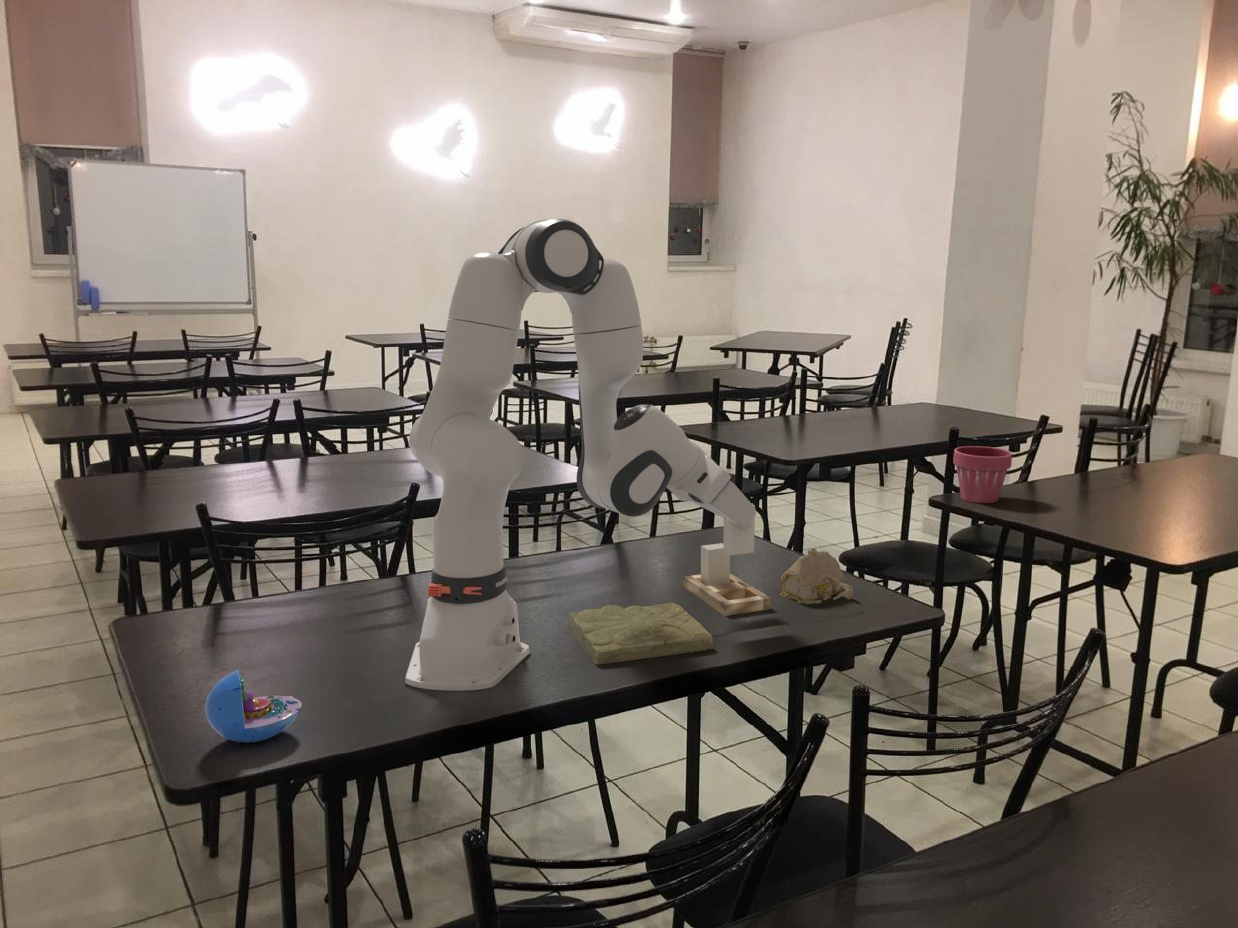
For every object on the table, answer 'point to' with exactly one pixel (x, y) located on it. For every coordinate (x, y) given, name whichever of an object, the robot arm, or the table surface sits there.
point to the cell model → (247, 711)
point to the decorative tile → (637, 632)
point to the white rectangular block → (738, 538)
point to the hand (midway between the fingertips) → (741, 524)
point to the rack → (729, 595)
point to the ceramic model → (814, 579)
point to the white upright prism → (714, 565)
